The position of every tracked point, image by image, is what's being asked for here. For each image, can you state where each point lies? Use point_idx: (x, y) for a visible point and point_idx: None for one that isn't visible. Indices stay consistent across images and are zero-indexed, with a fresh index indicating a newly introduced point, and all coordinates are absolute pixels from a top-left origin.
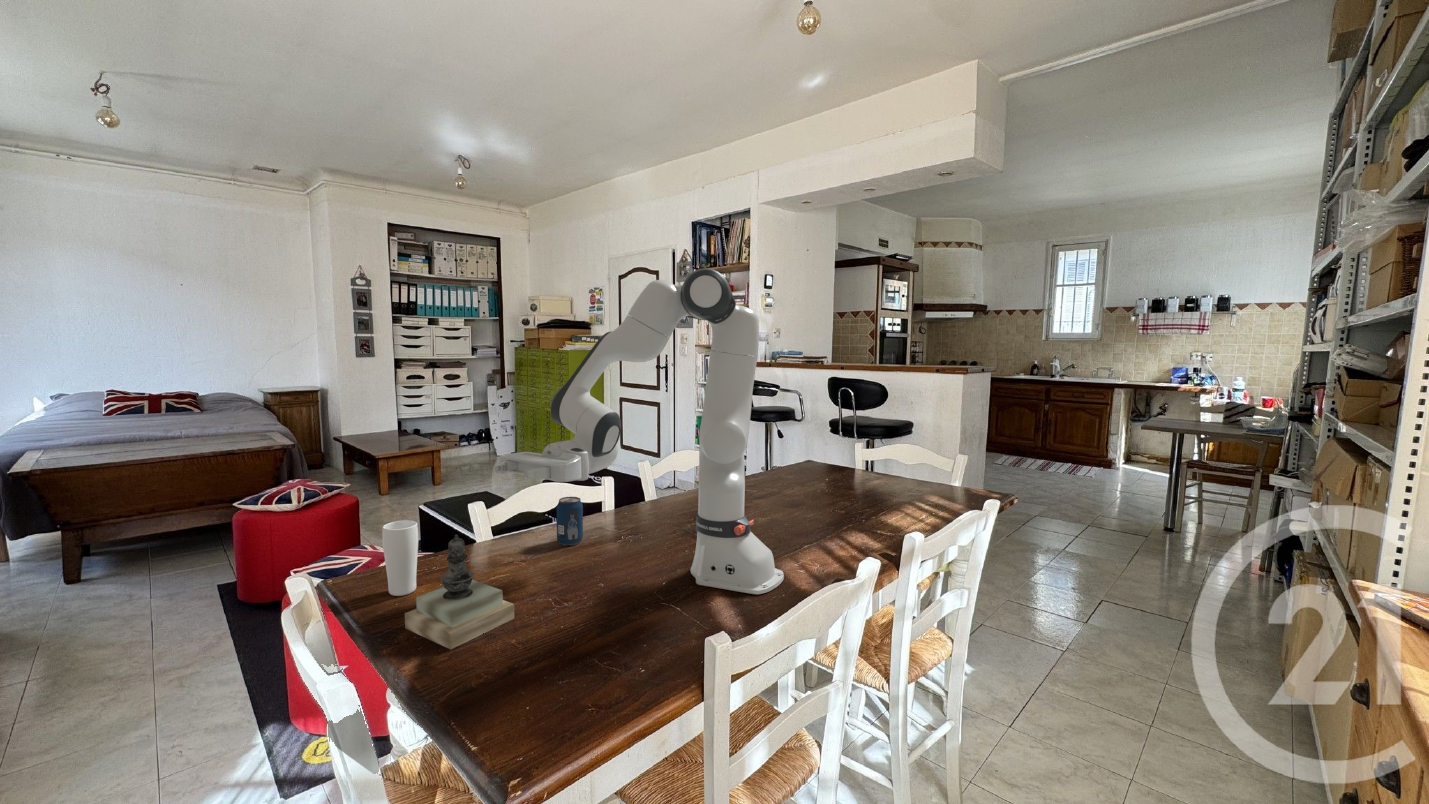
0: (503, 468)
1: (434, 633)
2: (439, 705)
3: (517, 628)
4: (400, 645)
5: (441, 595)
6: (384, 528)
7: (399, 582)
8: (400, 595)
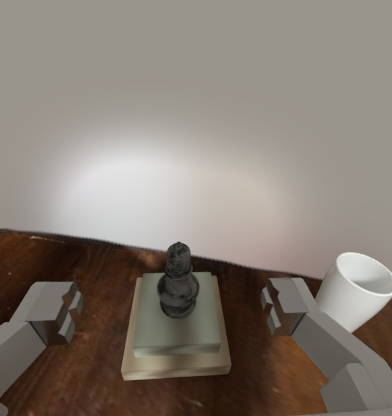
0: (277, 315)
1: None
2: (85, 246)
3: (100, 361)
4: None
5: None
6: (352, 252)
7: None
8: None
